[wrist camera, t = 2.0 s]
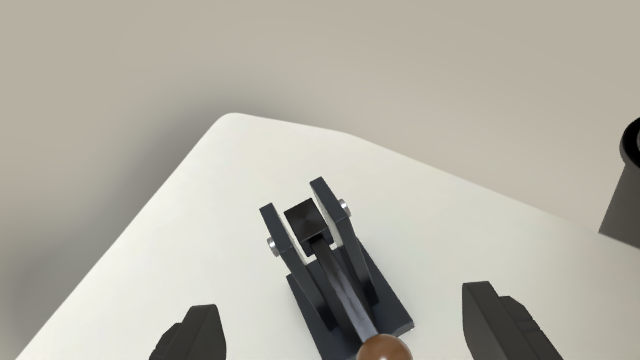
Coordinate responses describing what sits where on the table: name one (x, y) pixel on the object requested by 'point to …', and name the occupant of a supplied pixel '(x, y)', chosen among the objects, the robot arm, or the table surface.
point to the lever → (342, 283)
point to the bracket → (316, 291)
